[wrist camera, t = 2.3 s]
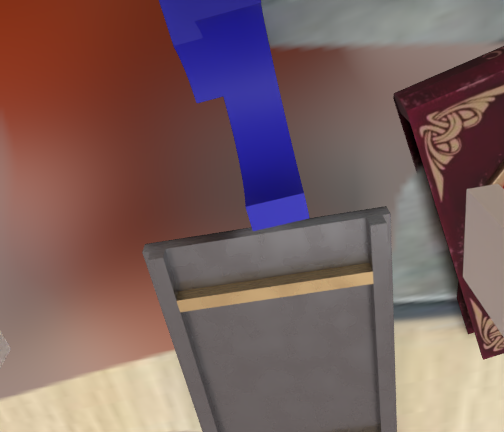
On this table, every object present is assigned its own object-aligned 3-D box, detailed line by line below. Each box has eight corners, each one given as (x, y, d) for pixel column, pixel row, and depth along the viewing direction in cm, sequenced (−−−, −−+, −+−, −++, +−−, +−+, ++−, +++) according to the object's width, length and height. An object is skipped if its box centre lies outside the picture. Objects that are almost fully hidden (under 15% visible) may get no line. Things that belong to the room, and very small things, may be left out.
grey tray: (145, 244, 32) (139, 261, 30) (386, 206, 31) (395, 221, 29) (221, 476, 45) (220, 497, 43) (394, 454, 44) (401, 475, 42)
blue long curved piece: (163, -18, 25) (143, -7, 19) (248, -42, 24) (252, -38, 19) (227, 187, 30) (225, 237, 25) (296, 170, 30) (309, 218, 25)
